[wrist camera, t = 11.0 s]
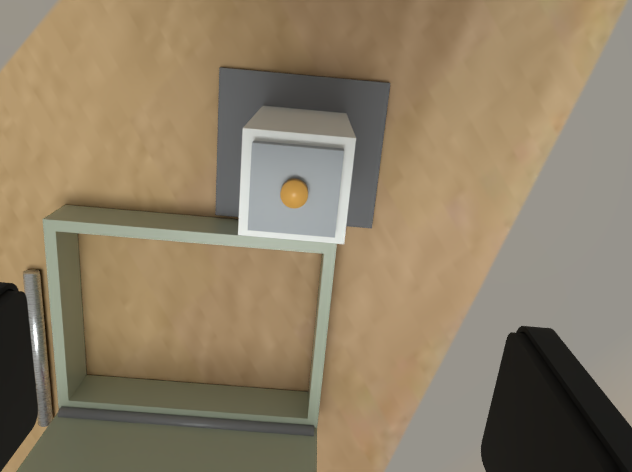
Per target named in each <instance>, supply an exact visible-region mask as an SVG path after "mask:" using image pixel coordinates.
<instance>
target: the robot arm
mask: <svg viewBox="0 0 632 472" xmlns="http://www.w3.org/2000/svg"><path fill="white" fill-rule="evenodd" d="M37 415H38V401H37V392H36V382H35V372H34V362H33V353H32V343H31V333H30V323H29V314H28V304H27V297H26V295H25V293H24V292H21V291H18V288H17V286H16V285H15V284H13V283H2V282H0V472H1V471H2V469H3V468H4V467H5V465H6V464H7V463H8V461H9V460H10V458H11V457H12V456H13V454H14V453H15V452H16V450H17V449H18V448H19V446H20V445H21V443H22V442H23V441H24V439H25V438H26V437H27V435H28V434H29V433H30V431H31V430H32V428H33V427H34V425H35V422H36V419H37ZM481 457H482V462H483V465H484V467H485V470H486V472H632V427H631V426H630V425H629V423H628V422H627V421H626V420H625V418H624V417H623V416H622V415H621V413H620V412H619V411H618V410H617V409H616V407H615V406H614V405H613V404H612V402H611V401H610V400H609V399H608V397H607V396H606V395H605V394H604V392H603V391H602V390H601V389H600V387H599V386H598V385H597V384H596V382H595V381H594V380H593V379H592V377H591V376H590V375H589V374H588V372H587V371H586V370H585V369H584V367H583V366H582V365H581V364H580V362H579V361H578V360H577V359H576V357H575V356H574V355H573V354H572V352H571V351H570V350H569V349H568V347H567V346H566V345H565V344H564V342H563V341H562V340H561V339H560V337H559V336H558V335H557V334H556V332H555V331H554V330H553V329H551V328H540V327H528V326H521V327H520V328H519V329H518V330H517V332H516V333H510V334H509V335H508V337H507V340H506V344H505V348H504V352H503V356H502V360H501V364H500V369H499V373H498V377H497V381H496V386H495V389H494V394H493V398H492V402H491V406H490V410H489V414H488V418H487V423H486V427H485V431H484V435H483V439H482V445H481Z"/></svg>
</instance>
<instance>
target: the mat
mask: <svg viewBox="0 0 632 472" xmlns="http://www.w3.org/2000/svg"><path fill="white" fill-rule="evenodd" d="M389 90H390V83H386V82H375V81H364V80H353V79H342V78H331V77H320V76H309V75H299V74H288V73H277V72H266V71H255V70H244V69H233V68H222V67H220V68H219V106H218V143H217V180H216V215H221V216H233V217H239V200H240V177H241V154H242V131H243V127H244V126H245V125H246V124H247V123H248V121H249V120H250V119H251V118H252V117H253V116H254V115H255V114H256V113H257V111H258V110H259V109H260V108H261V107H262V106H272V107H283V108H294V109H305V110H316V111H327V112H338V113H346V114H347V116H348V119H349V121H350V124H351V126H352V129H353V132H354V134H355V137H356V144H355V153H354V161H353V170H352V179H351V188H350V197H349V205H348V214H347V223H346V226H351V227H363V228H372V222H373V214H374V207H375V199H376V191H377V183H378V176H379V168H380V160H381V152H382V145H383V137H384V129H385V121H386V114H387V106H388V98H389Z"/></svg>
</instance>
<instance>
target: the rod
mask: <svg viewBox="0 0 632 472" xmlns="http://www.w3.org/2000/svg"><path fill="white" fill-rule="evenodd" d="M23 280H24V290H25V295H26V297H27V304H28V314H29V323H30V333H31V343H32V353H33V362H34V372H35V382H36V392H37V401H38V415H37V418H38V425H39V426H42V427H45V426H49V424H50V423H51V422H52V420H53V412H52V401H51V390H50V379H49V368H48V357H47V346H46V334H45V323H44V312H43V301H42V290H41V279H40V271H39V270H37V269H29V270H26V271H24V272H23Z"/></svg>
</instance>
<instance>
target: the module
mask: <svg viewBox="0 0 632 472" xmlns="http://www.w3.org/2000/svg"><path fill="white" fill-rule="evenodd" d="M355 144H356V137H355V134H354V132H353V129H352V126H351V124H350V121H349V119H348V116H347V114H346V113H338V112H327V111H316V110H305V109H294V108H283V107H272V106H262V107H261V108H260V109H259V110H258V111H257V113H256V114H255V115H254V116H253V117H252V118H251V119H250V120H249V121H248V123H247V124H246V125H245V126H244V127H243V131H242V154H241V177H240V200H239V223H238V235H242V236H253V237H265V238H277V239H288V240H300V241H312V242H324V243H335V244H344V241H345V232H346V223H347V214H348V205H349V197H350V188H351V179H352V170H353V161H354V153H355Z"/></svg>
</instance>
